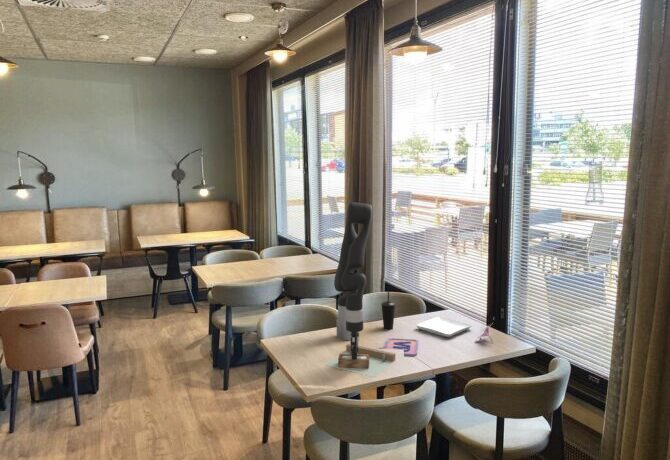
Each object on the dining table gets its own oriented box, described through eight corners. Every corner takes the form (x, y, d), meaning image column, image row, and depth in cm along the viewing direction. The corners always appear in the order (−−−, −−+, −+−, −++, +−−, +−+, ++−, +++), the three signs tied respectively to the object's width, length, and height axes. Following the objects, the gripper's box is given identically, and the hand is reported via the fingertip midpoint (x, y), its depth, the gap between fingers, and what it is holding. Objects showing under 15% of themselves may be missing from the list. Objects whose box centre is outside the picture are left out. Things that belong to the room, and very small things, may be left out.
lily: (491, 338, 256) (481, 321, 257) (507, 336, 246) (497, 318, 246) (475, 350, 250) (465, 332, 251) (491, 348, 240) (481, 330, 241)
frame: (338, 367, 219) (338, 358, 218) (339, 362, 224) (339, 353, 224) (368, 368, 217) (368, 359, 217) (369, 363, 223) (369, 354, 222)
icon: (377, 337, 254) (418, 339, 250) (377, 340, 254) (418, 342, 250) (372, 351, 235) (416, 354, 231) (372, 354, 236) (416, 357, 232)
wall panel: (325, 367, 222) (324, 358, 221) (348, 351, 238) (348, 343, 238) (374, 379, 209) (374, 370, 208) (395, 362, 226) (395, 353, 225)
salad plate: (439, 321, 280) (439, 315, 280) (472, 330, 265) (473, 324, 264) (414, 330, 266) (414, 324, 266) (448, 341, 251) (449, 334, 250)
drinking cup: (391, 331, 264) (391, 294, 261) (378, 329, 268) (378, 292, 265) (398, 327, 270) (398, 290, 267) (385, 325, 274) (385, 288, 271)
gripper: (362, 324, 210) (362, 362, 212) (364, 314, 224) (364, 349, 226) (344, 324, 211) (344, 361, 213) (347, 313, 225) (347, 349, 227)
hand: (355, 355), depth 220 cm, fingers open, 8 cm apart
